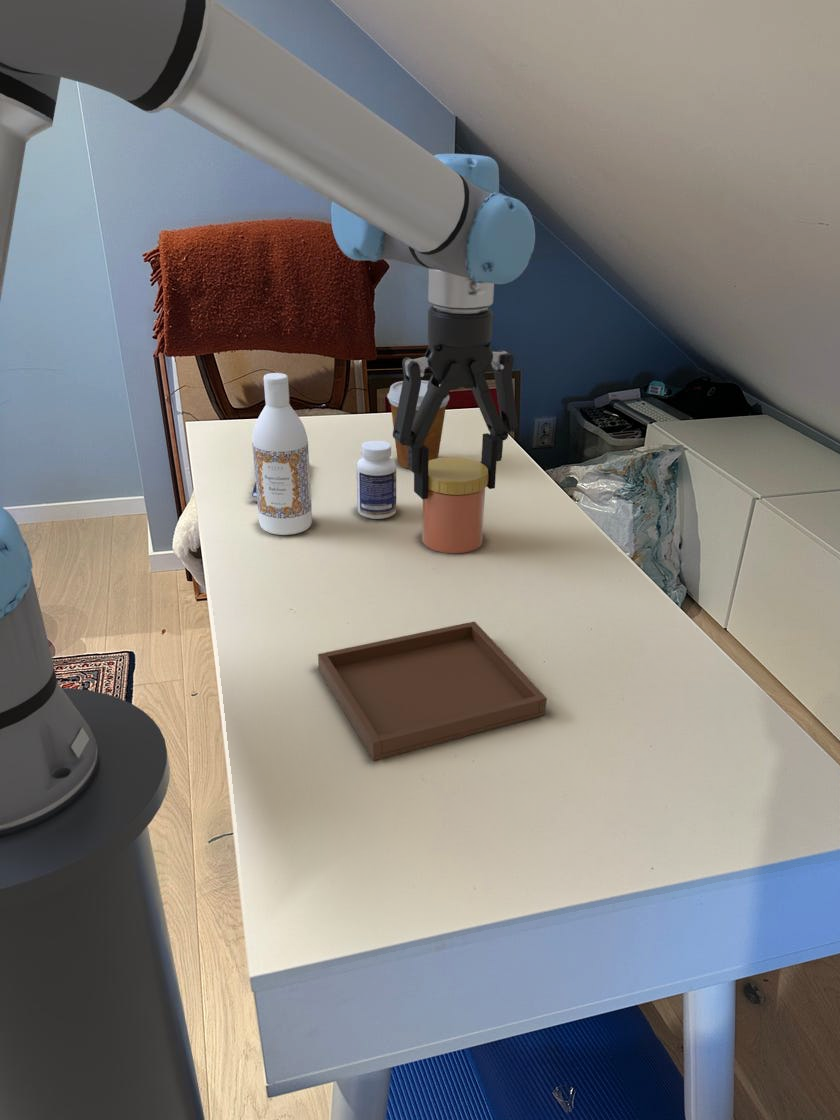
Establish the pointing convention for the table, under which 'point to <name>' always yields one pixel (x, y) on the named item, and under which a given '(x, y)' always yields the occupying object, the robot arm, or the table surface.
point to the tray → (428, 688)
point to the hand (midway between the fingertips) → (454, 489)
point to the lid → (456, 475)
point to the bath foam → (281, 462)
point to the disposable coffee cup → (436, 429)
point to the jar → (453, 521)
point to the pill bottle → (376, 481)
